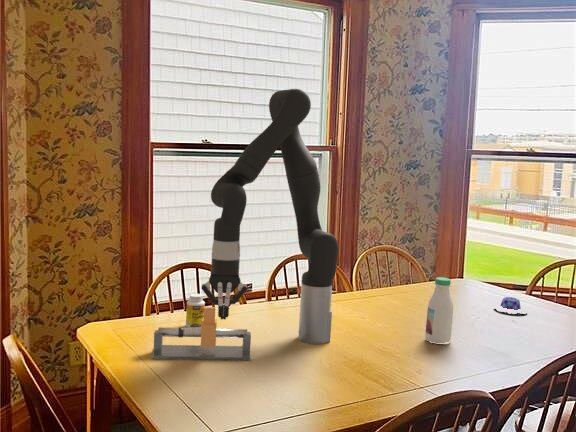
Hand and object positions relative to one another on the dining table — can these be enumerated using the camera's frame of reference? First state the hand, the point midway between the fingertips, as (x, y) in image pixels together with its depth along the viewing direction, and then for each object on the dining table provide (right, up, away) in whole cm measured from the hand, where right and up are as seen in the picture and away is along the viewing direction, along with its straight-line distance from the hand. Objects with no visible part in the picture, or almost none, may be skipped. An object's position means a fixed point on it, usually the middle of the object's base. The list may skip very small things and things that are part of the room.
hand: (223, 318), depth 168 cm
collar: (-4, -7, +1) cm, 8 cm away
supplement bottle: (-11, -7, +24) cm, 27 cm away
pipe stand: (-6, -10, +1) cm, 11 cm away
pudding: (+101, -8, +63) cm, 120 cm away
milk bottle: (+64, -11, +23) cm, 69 cm away
